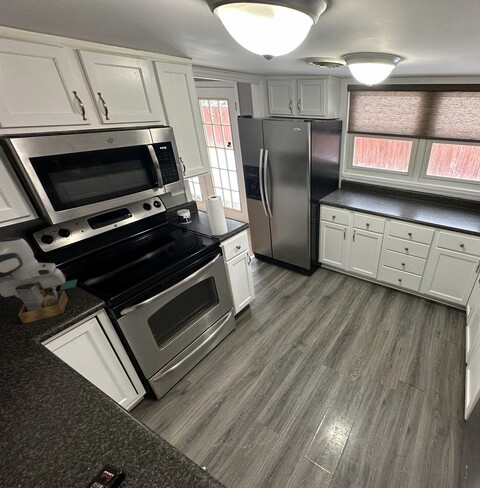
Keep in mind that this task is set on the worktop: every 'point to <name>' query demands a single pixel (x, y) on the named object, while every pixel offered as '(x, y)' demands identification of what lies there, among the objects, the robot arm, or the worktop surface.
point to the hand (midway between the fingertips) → (40, 297)
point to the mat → (68, 285)
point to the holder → (44, 310)
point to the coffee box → (36, 296)
